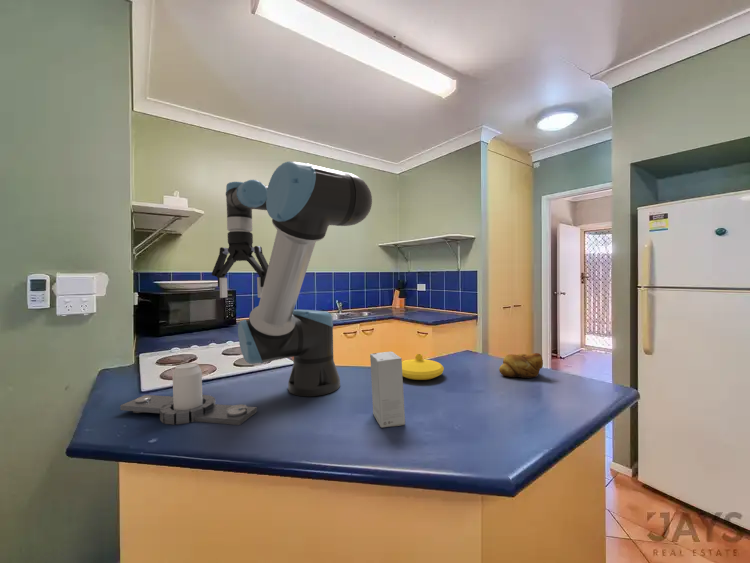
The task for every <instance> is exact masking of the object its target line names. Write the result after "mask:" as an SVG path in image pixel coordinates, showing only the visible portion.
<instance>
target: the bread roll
mask: <svg viewBox="0 0 750 563" xmlns="http://www.w3.org/2000/svg"><path fill="white" fill-rule="evenodd" d="M543 364H544V360H543V357H542V354H541V353H539V352H536V353H535V352H534V353H529V354H526V353H518V354H513V353H512V354H506V355H505V356H504V357H503V361H502V363H501V365H500V366H499V368H498V371H499V373H500V374H501V376H504V377H508V378H517V377H519V378H523V379H531V378H536V377H538V375H539V374H540V370H541V369H542V368H543V367H544V365H543Z"/></svg>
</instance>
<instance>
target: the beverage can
mask: <svg viewBox="0 0 750 563" xmlns="http://www.w3.org/2000/svg"><path fill="white" fill-rule="evenodd" d="M202 375H203V374H202V369H201V367H200V366H199V362H185V363H180V364H178V365H176V366H175V369H174V371H173V373H172V397H173V403H174V410H178V411H181V410H188V409H192V408H196V407H199V406H201V405H202V404H203V398H202V395H203V376H202Z"/></svg>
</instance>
